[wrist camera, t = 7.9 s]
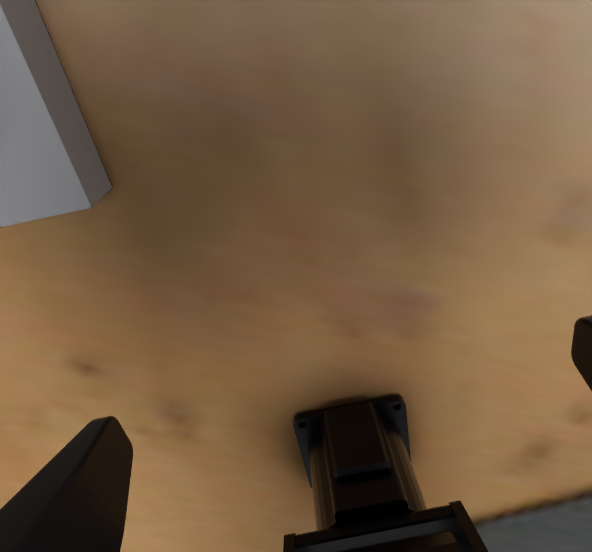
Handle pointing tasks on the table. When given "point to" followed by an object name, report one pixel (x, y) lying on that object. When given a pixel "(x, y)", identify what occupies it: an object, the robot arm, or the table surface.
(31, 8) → the dock
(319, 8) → the table surface
